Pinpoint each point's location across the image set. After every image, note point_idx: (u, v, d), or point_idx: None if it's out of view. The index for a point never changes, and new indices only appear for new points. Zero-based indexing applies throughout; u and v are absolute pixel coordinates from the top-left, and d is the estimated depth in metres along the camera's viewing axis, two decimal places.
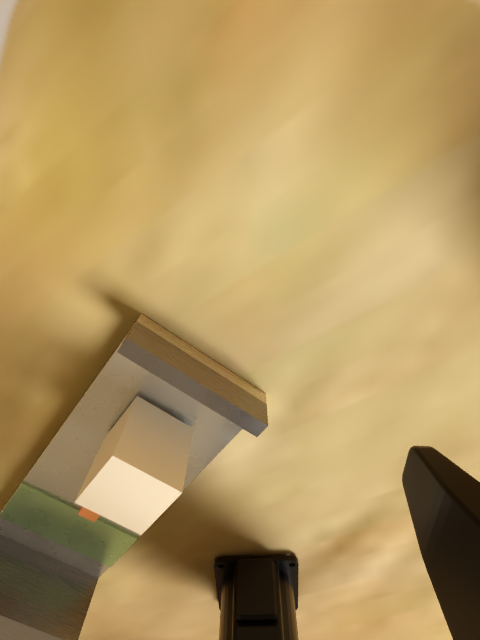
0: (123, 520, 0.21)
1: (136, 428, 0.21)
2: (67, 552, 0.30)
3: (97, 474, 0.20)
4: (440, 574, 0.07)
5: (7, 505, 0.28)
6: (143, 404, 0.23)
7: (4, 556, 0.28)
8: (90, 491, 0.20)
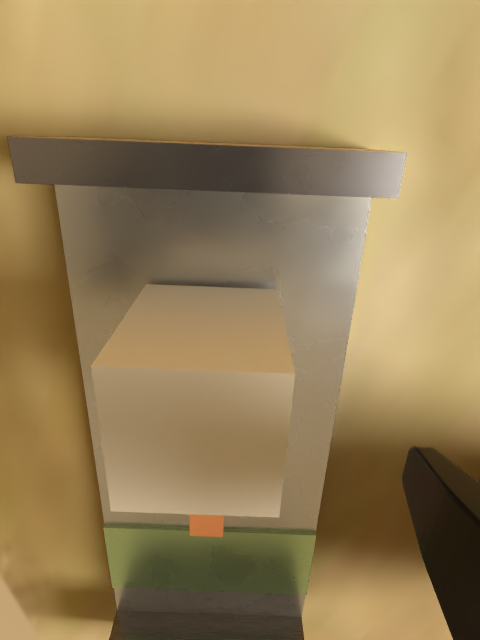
0: (224, 503, 0.09)
1: (149, 317, 0.10)
2: (234, 597, 0.19)
3: (101, 429, 0.09)
4: (440, 574, 0.07)
5: (111, 567, 0.18)
6: (161, 289, 0.12)
7: None
8: (118, 473, 0.09)
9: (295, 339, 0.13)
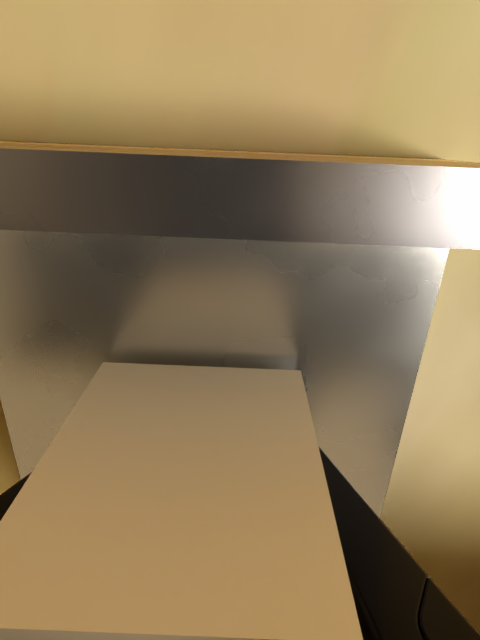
0: None
1: (92, 447, 0.06)
2: None
3: None
4: None
5: None
6: (123, 373, 0.08)
7: None
8: None
9: (324, 434, 0.09)
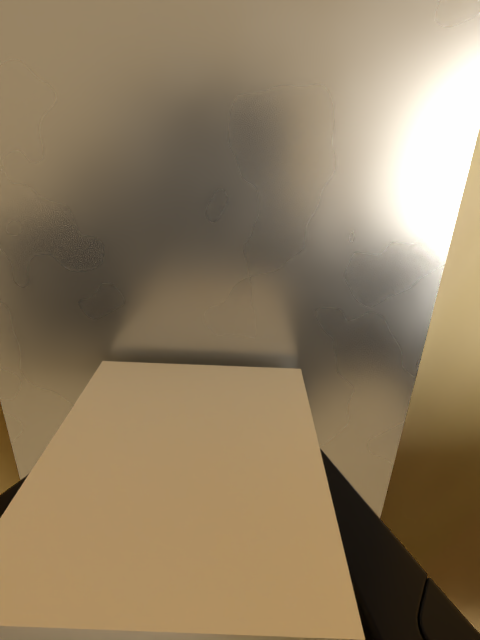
0: None
1: (92, 445, 0.06)
2: None
3: None
4: None
5: None
6: (122, 373, 0.08)
7: None
8: None
9: (354, 240, 0.07)
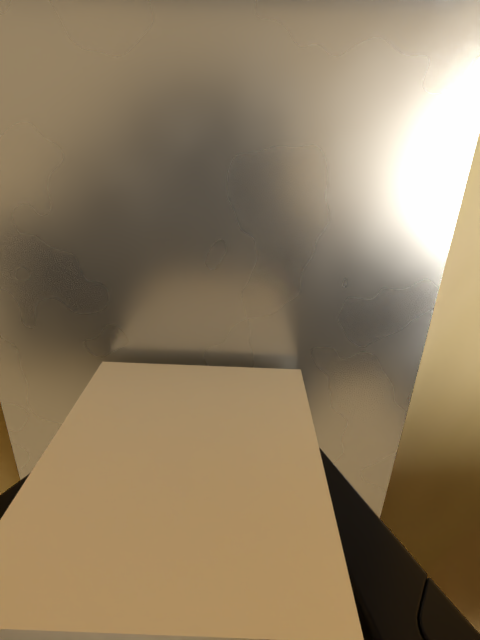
0: None
1: (91, 446, 0.06)
2: None
3: None
4: None
5: None
6: (122, 373, 0.08)
7: None
8: None
9: (347, 286, 0.08)
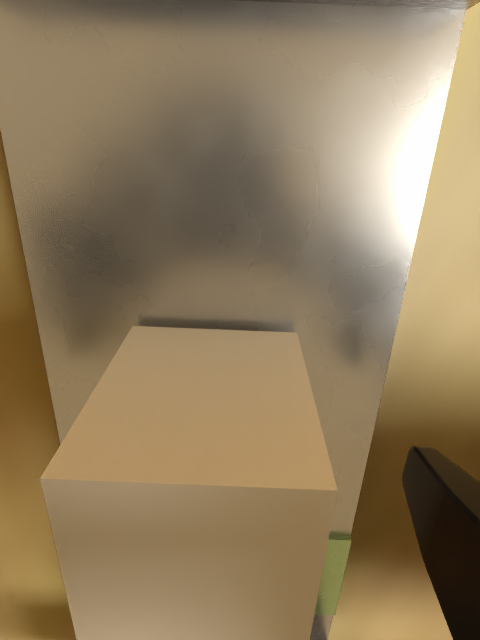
0: None
1: (133, 381, 0.08)
2: None
3: (60, 554, 0.06)
4: (440, 574, 0.07)
5: None
6: (150, 334, 0.09)
7: None
8: (86, 606, 0.07)
9: (335, 262, 0.09)
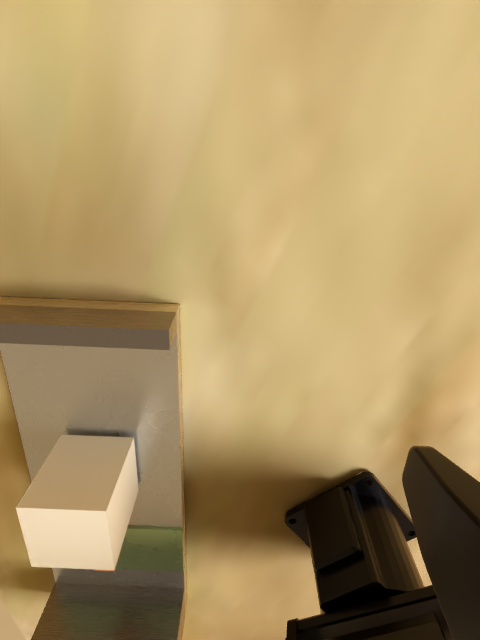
0: (86, 563, 0.19)
1: (53, 467, 0.20)
2: (135, 574, 0.27)
3: (23, 531, 0.18)
4: (440, 574, 0.07)
5: None
6: (67, 440, 0.22)
7: (76, 602, 0.27)
8: (33, 550, 0.19)
9: (147, 409, 0.22)
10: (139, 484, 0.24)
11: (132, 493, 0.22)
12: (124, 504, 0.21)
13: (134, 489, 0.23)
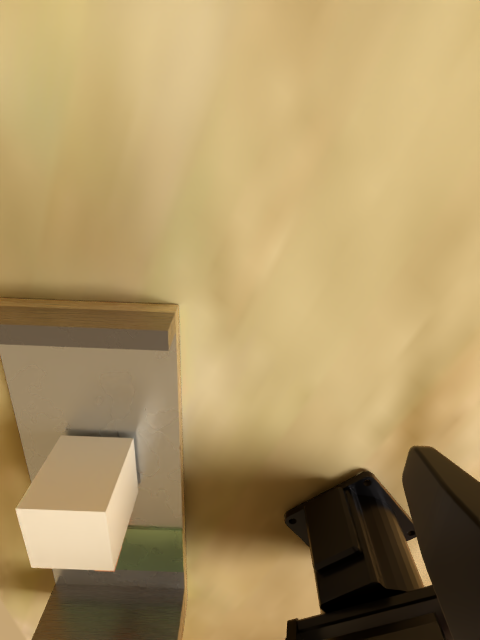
0: (85, 564, 0.19)
1: (53, 468, 0.20)
2: (135, 574, 0.27)
3: (23, 532, 0.18)
4: (440, 574, 0.07)
5: None
6: (67, 440, 0.22)
7: (76, 603, 0.27)
8: (33, 551, 0.19)
9: (146, 410, 0.22)
10: (139, 485, 0.24)
11: (132, 494, 0.22)
12: (124, 505, 0.21)
13: (134, 490, 0.23)
